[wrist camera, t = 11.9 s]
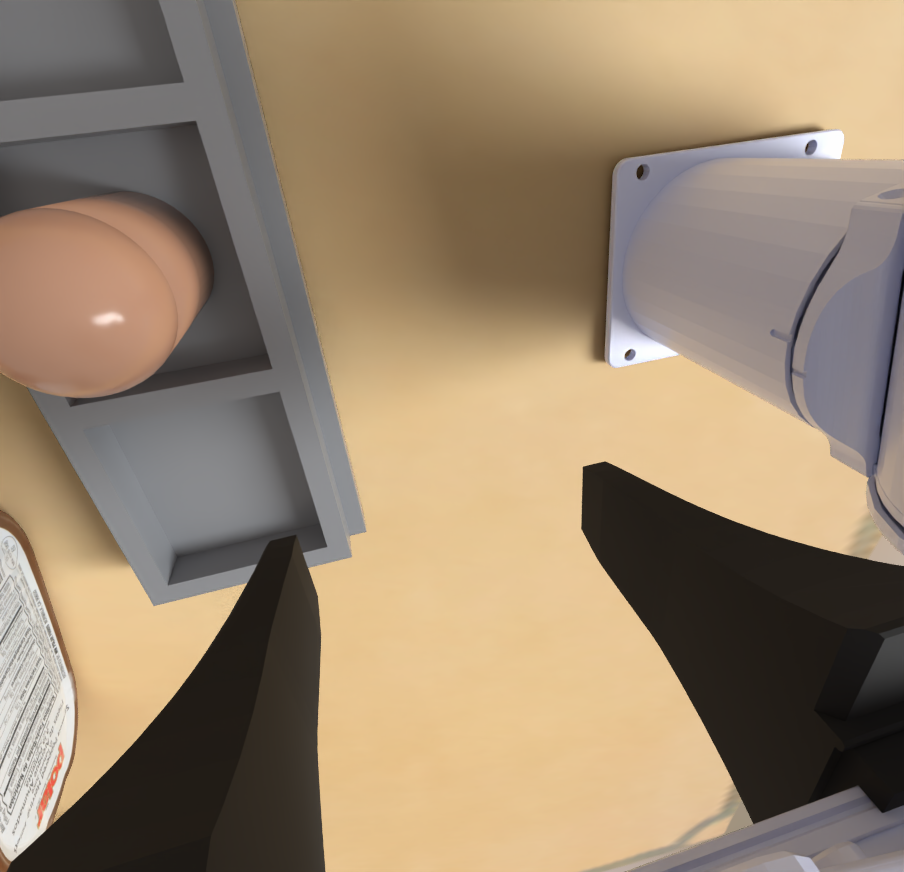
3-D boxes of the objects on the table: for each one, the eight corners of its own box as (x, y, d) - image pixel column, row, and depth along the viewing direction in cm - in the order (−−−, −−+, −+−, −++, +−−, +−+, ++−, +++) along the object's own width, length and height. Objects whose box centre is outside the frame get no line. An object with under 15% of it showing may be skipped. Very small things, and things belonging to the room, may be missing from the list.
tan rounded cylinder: (187, 182, 15) (101, 204, 9) (231, 317, 17) (185, 409, 11) (37, 201, 14) (-163, 237, 8) (101, 338, 16) (-24, 446, 10)
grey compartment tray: (150, -340, 11) (107, -472, 9) (363, 515, 23) (369, 556, 21) (-343, -348, 10) (-550, -506, 7) (155, 564, 22) (136, 614, 20)
